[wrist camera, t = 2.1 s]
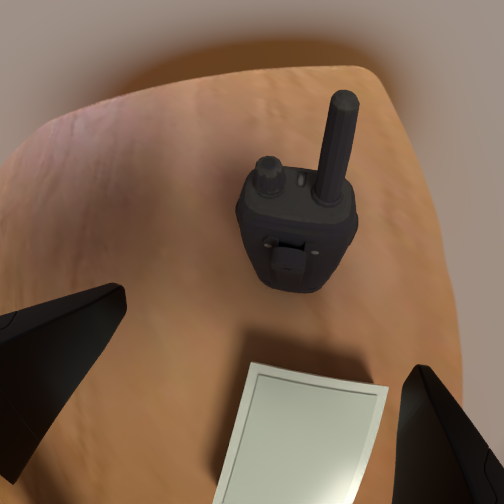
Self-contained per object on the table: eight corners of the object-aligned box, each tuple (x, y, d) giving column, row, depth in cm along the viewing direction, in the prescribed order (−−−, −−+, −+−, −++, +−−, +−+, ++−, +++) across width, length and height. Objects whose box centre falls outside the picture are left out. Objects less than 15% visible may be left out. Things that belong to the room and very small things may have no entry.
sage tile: (220, 491, 16) (210, 510, 13) (255, 361, 19) (250, 361, 16) (333, 511, 14) (340, 532, 12) (374, 383, 18) (389, 386, 15)
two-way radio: (335, 252, 21) (401, 75, 7) (326, 315, 20) (421, 207, 5) (257, 241, 22) (214, 56, 8) (244, 302, 20) (161, 172, 6)
